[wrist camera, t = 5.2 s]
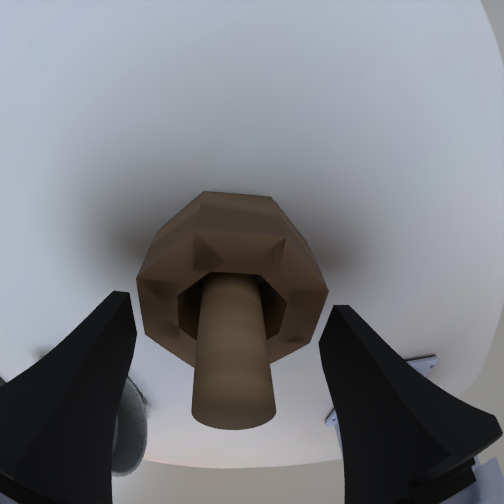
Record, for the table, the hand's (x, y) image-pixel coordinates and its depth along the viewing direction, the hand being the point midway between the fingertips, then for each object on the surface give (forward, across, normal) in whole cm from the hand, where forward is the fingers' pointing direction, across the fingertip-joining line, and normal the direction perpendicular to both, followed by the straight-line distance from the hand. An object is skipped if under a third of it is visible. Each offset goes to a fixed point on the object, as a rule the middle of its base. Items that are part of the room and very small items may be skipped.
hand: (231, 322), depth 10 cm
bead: (+4, 0, 0) cm, 4 cm away
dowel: (+4, 0, 0) cm, 4 cm away
